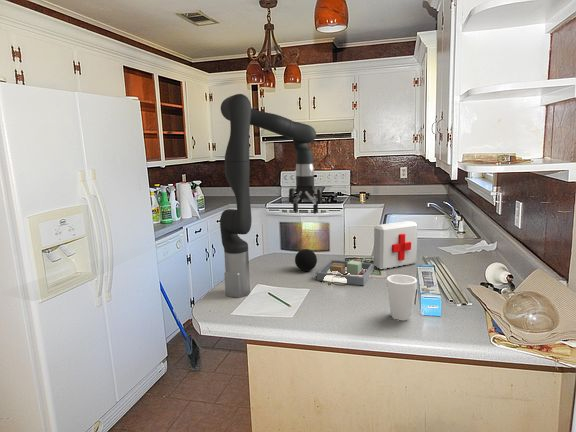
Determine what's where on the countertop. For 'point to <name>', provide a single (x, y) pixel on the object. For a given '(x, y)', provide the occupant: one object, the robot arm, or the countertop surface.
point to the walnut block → (338, 267)
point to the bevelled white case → (395, 244)
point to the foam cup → (401, 295)
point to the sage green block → (354, 267)
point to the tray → (350, 279)
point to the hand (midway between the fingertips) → (305, 212)
